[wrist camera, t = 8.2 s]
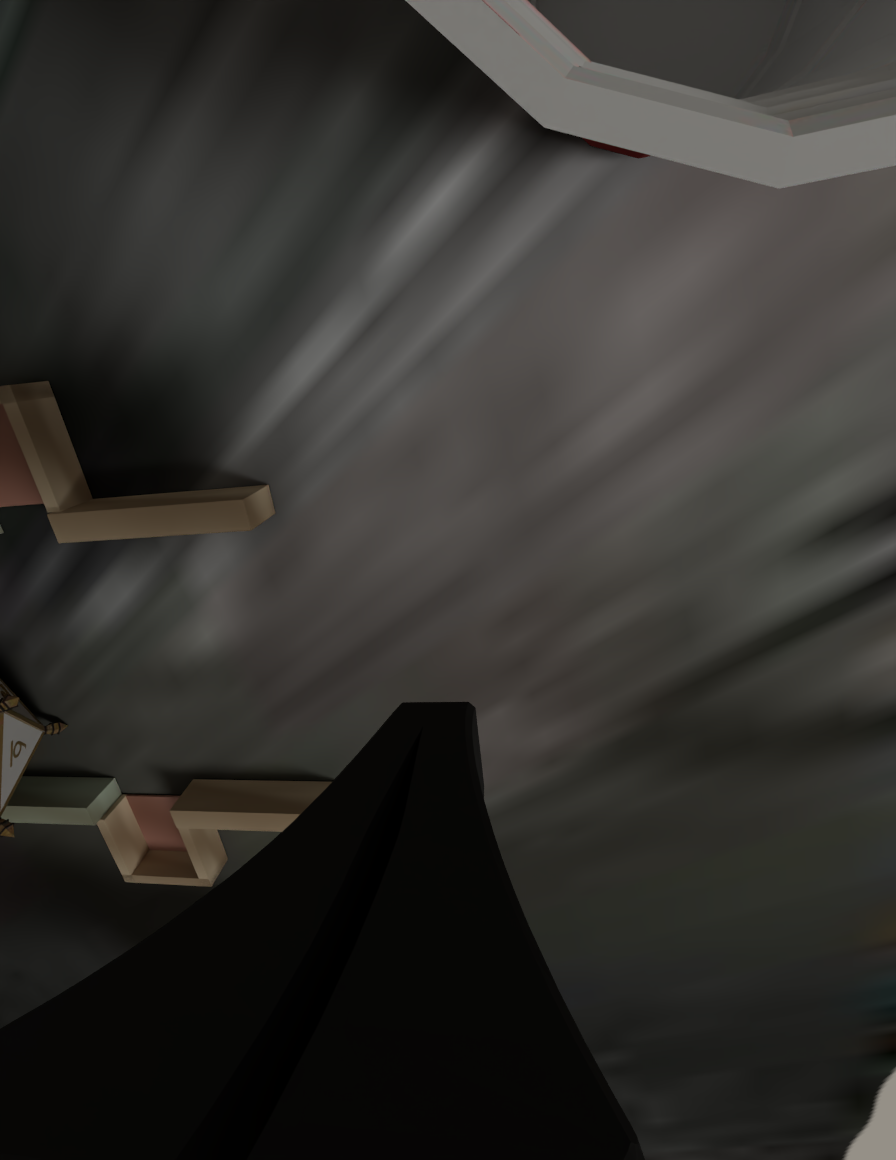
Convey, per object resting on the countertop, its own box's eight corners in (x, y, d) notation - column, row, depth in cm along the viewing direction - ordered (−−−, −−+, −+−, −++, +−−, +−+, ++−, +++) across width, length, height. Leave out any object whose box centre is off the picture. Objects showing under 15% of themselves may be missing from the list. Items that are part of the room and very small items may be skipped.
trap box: (361, 864, 26) (341, 927, 23) (-35, 847, 30) (-93, 899, 27) (237, 357, 17) (181, 362, 14) (-302, 424, 21) (-426, 438, 18)
